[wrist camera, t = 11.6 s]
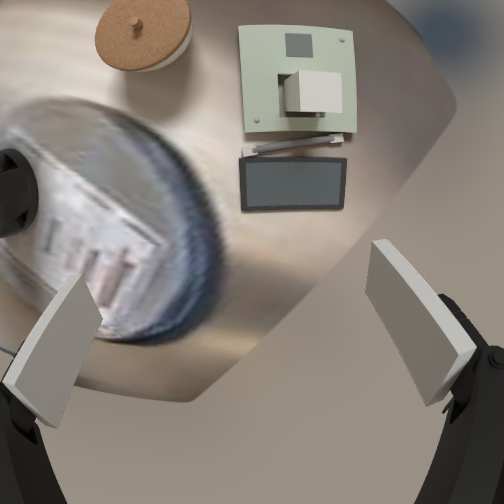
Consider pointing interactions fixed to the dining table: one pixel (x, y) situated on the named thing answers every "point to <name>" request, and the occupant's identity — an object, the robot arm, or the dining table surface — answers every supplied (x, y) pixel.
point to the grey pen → (292, 144)
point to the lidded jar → (144, 33)
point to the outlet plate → (287, 63)
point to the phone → (292, 183)
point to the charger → (313, 92)
